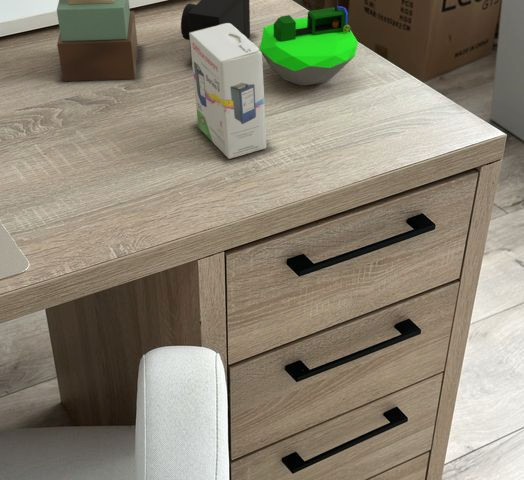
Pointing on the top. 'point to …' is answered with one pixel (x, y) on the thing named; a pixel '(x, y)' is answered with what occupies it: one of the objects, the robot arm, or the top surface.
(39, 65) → the top surface
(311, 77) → the toy floating island
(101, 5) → the top block
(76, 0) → the toy block
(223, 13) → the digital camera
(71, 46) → the bottom block
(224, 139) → the ink box
